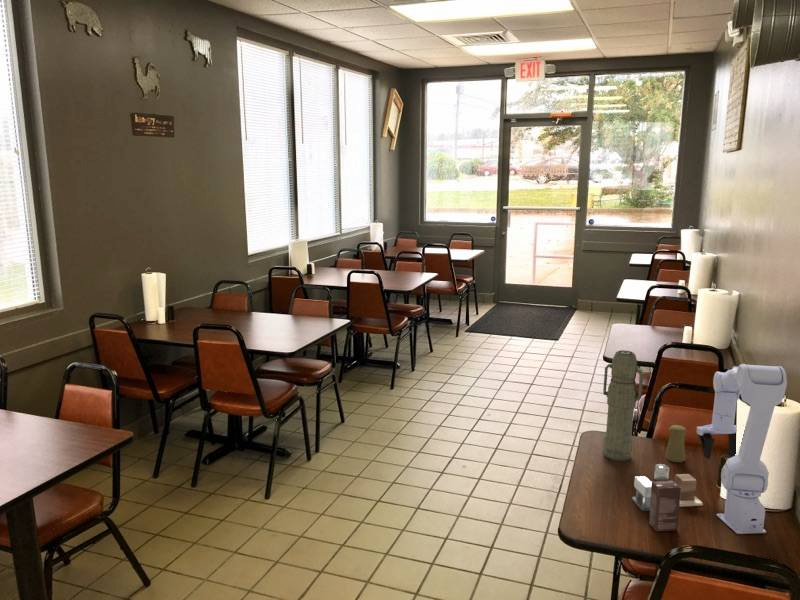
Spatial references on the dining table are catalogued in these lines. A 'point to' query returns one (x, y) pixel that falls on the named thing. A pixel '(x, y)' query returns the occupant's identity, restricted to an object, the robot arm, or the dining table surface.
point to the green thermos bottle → (621, 405)
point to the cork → (676, 444)
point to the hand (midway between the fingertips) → (719, 457)
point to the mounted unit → (642, 492)
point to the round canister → (661, 472)
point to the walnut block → (686, 486)
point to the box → (664, 505)
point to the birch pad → (691, 503)
